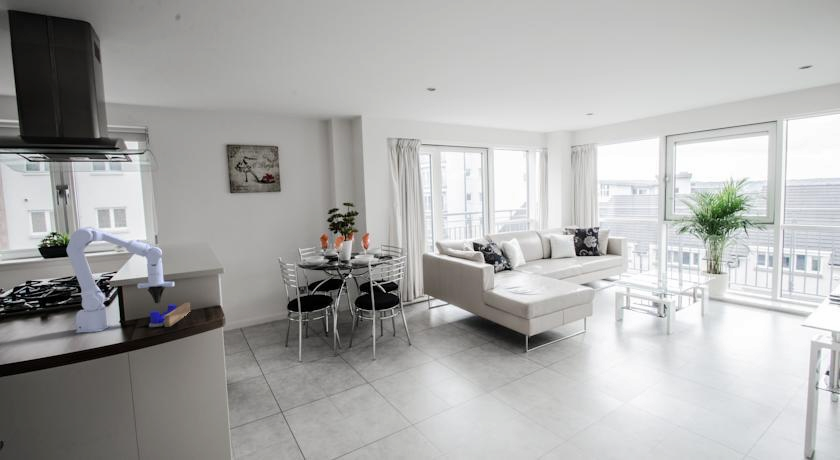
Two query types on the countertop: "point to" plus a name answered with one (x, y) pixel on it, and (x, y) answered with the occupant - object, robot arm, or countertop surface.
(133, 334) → the countertop surface
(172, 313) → the backboard
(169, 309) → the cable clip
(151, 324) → the mounting rail
